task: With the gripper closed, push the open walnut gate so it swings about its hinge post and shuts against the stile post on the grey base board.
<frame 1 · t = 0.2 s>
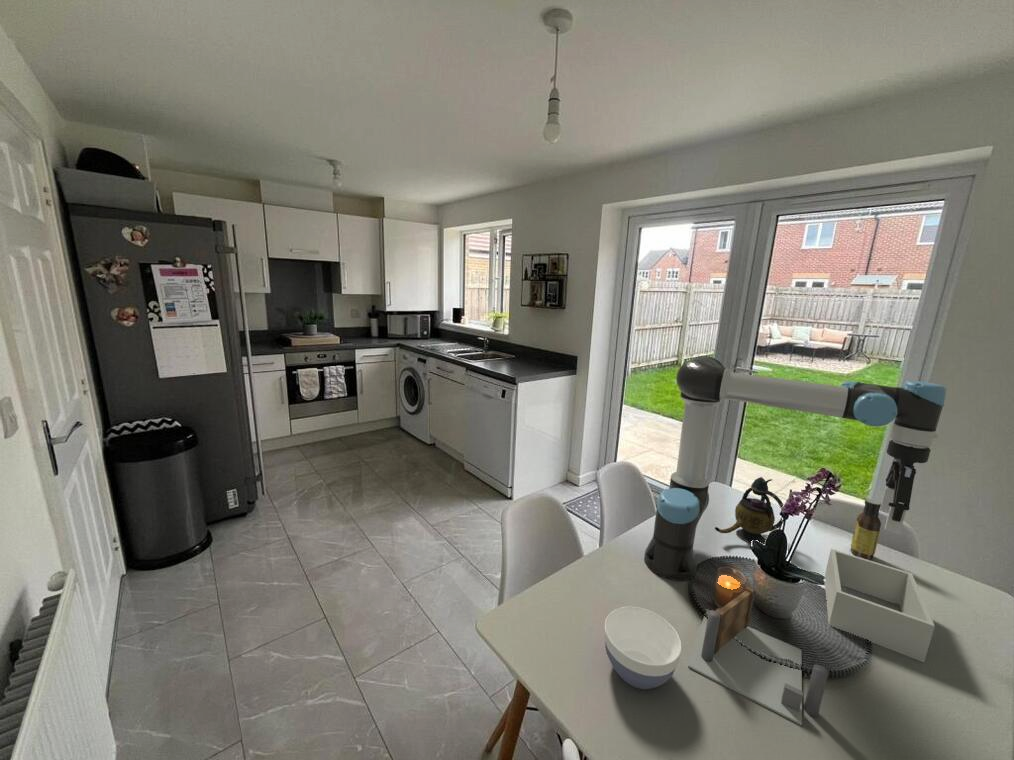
hand: (889, 520, 106), 28 cm above the table, fingers open, 13 cm apart
bowl: (637, 671, 91), on the table
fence: (706, 659, 95), on the table
teapot: (742, 539, 146), on the table
sauce bottle: (860, 555, 140), on the table
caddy: (867, 614, 112), on the table
gate: (732, 618, 99), point 6 cm above the table, hinge at 70.0°
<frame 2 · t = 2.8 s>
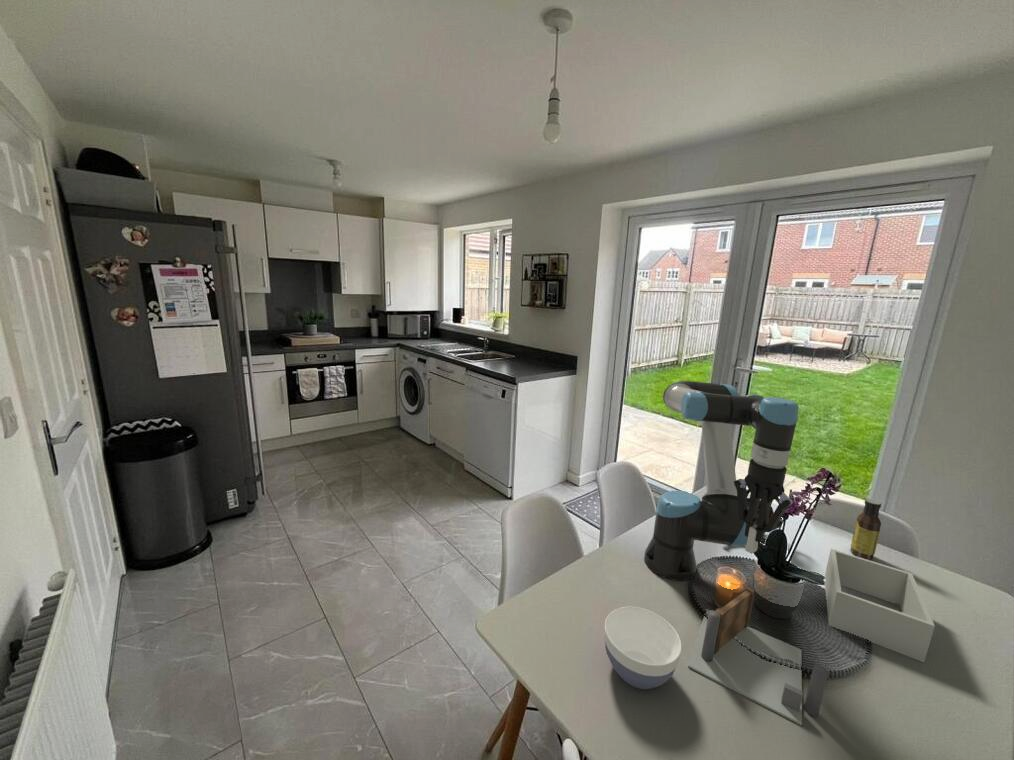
hand: (751, 550, 102), 21 cm above the table, fingers closed
nothing on the table moved.
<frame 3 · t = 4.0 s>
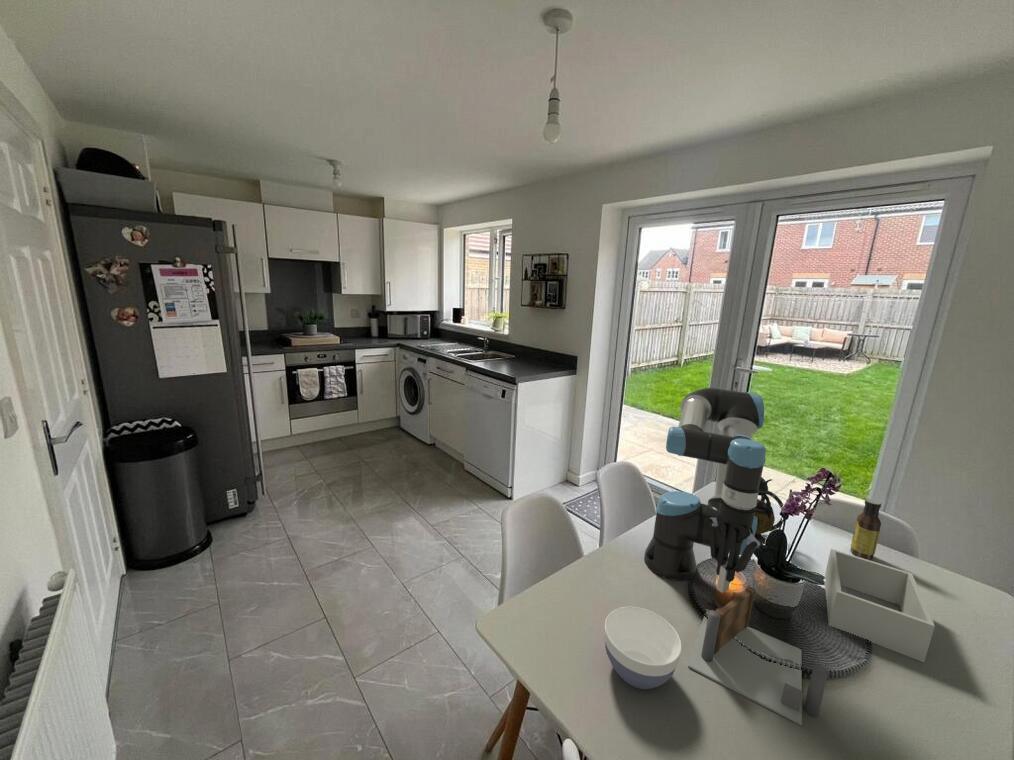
hand: (722, 589, 104), 10 cm above the table, fingers closed
nothing on the table moved.
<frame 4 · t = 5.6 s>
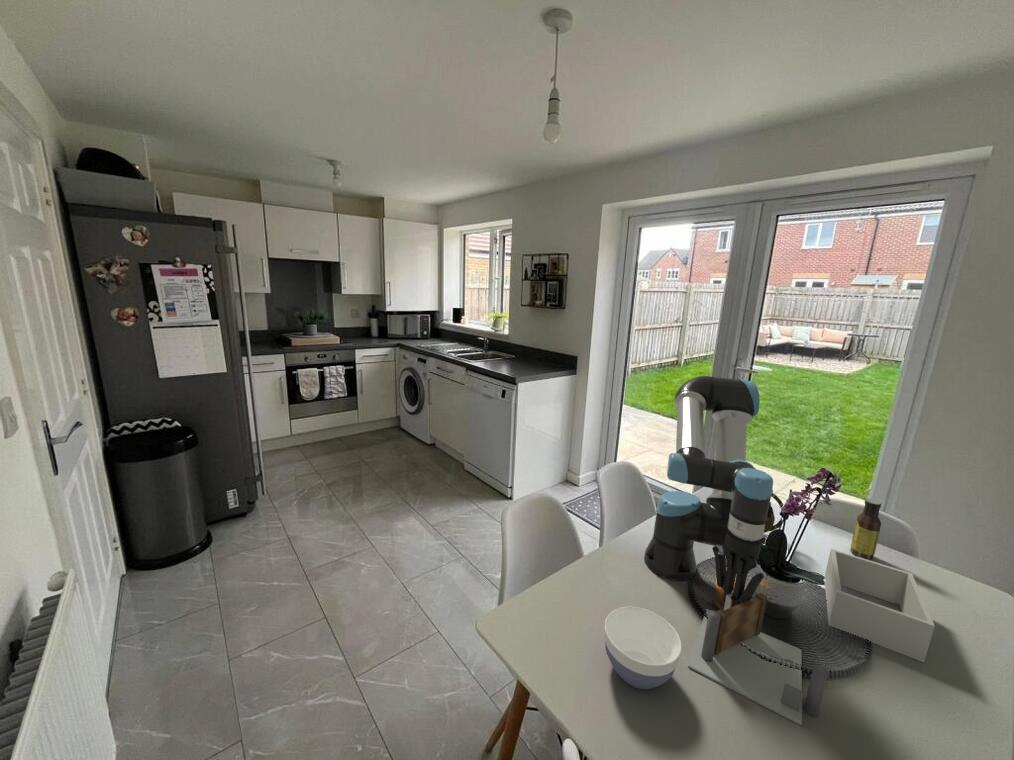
hand: (728, 617, 103), 3 cm above the table, fingers closed
gate: (739, 623, 97), point 6 cm above the table, hinge at 60.6°, touching hand
everything else where it was.
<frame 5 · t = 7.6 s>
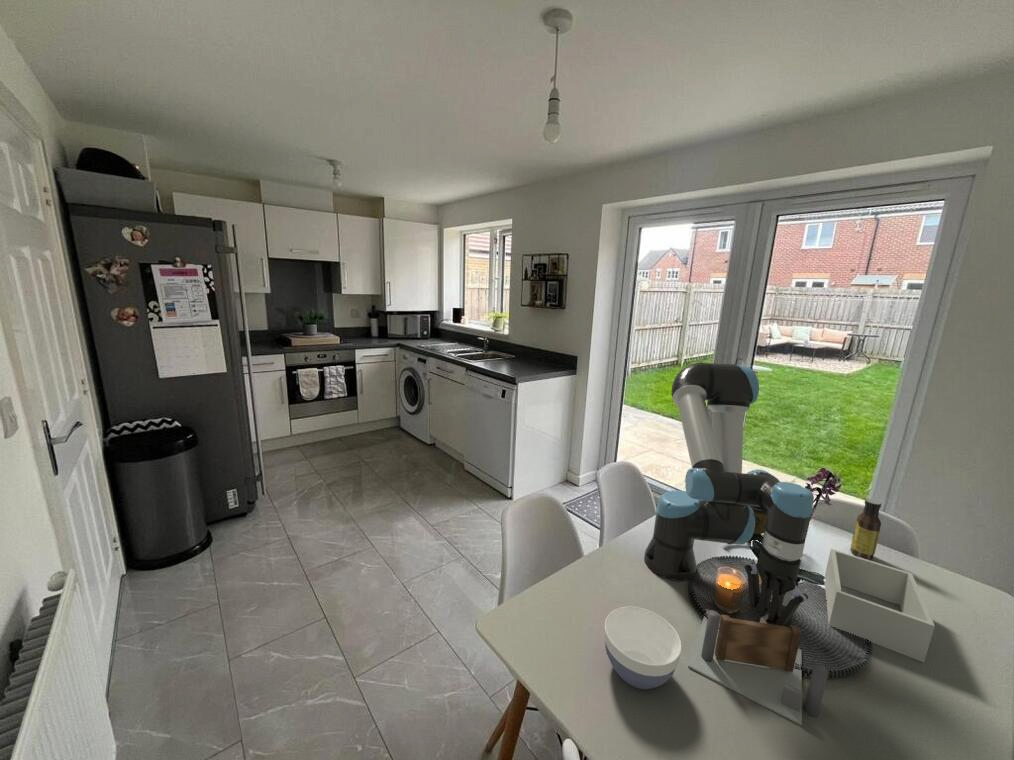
hand: (762, 641, 96), 3 cm above the table, fingers closed
gate: (756, 642, 92), point 6 cm above the table, hinge at 26.6°, touching hand
everything else where it was.
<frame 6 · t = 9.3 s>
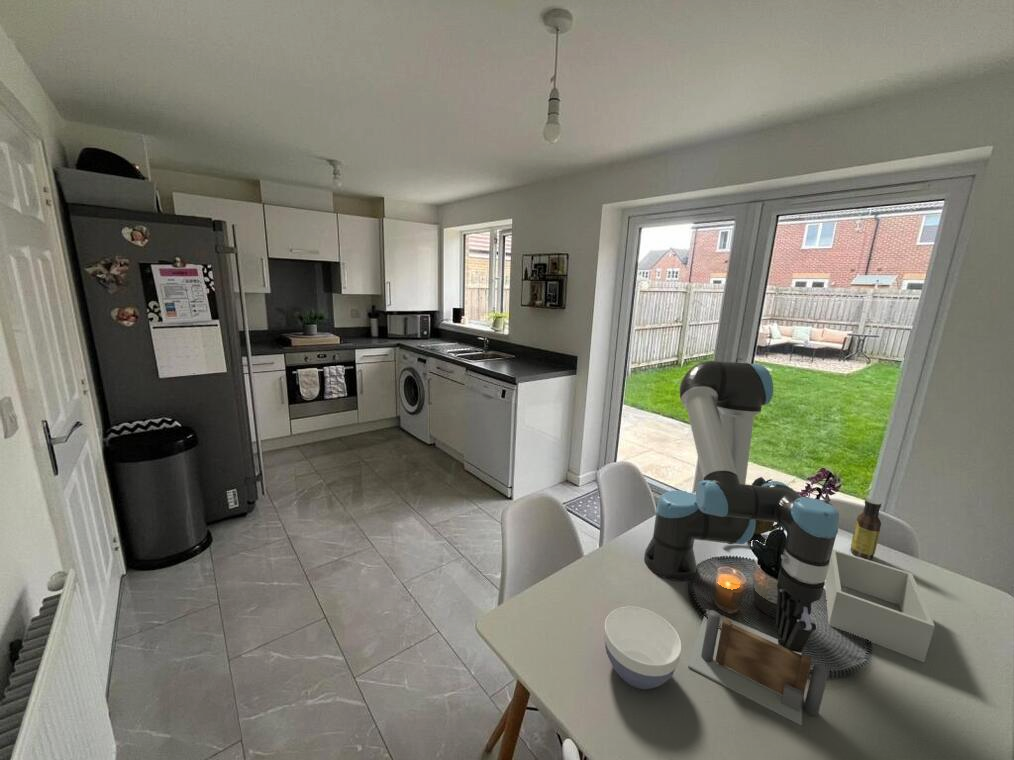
hand: (781, 667, 89), 4 cm above the table, fingers closed
gate: (760, 659, 88), point 6 cm above the table, hinge at -1.7°, touching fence, hand
everything else where it was.
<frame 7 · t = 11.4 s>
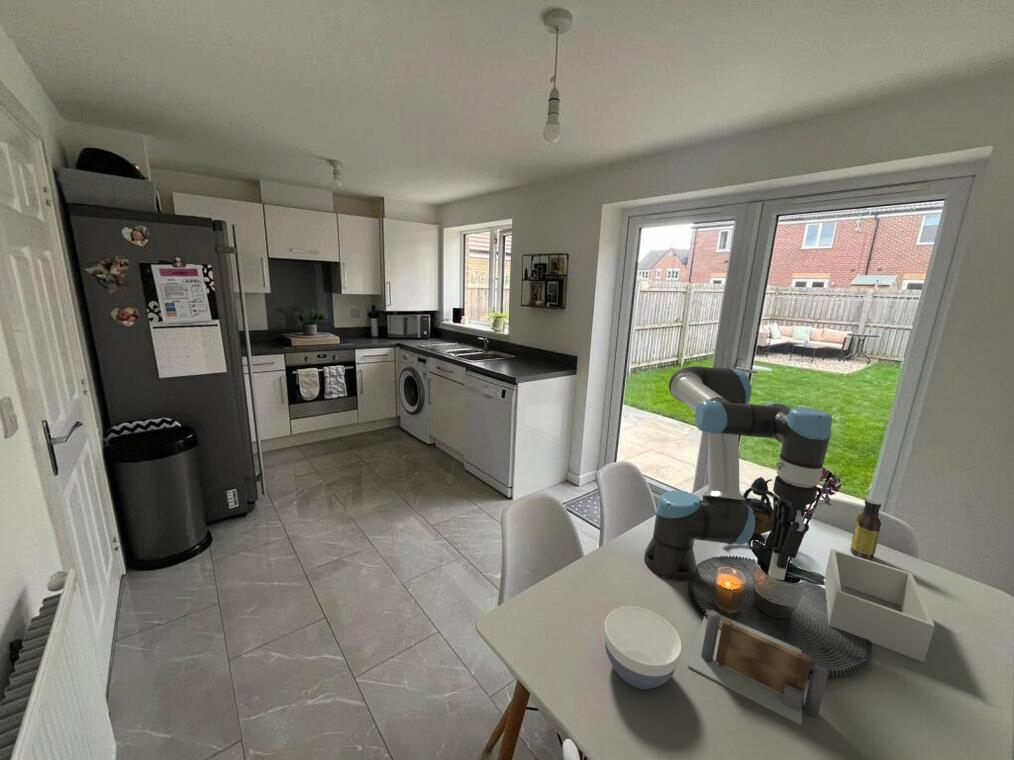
hand: (775, 576, 92), 21 cm above the table, fingers closed
gate: (760, 659, 88), point 6 cm above the table, hinge at -0.8°
everything else where it was.
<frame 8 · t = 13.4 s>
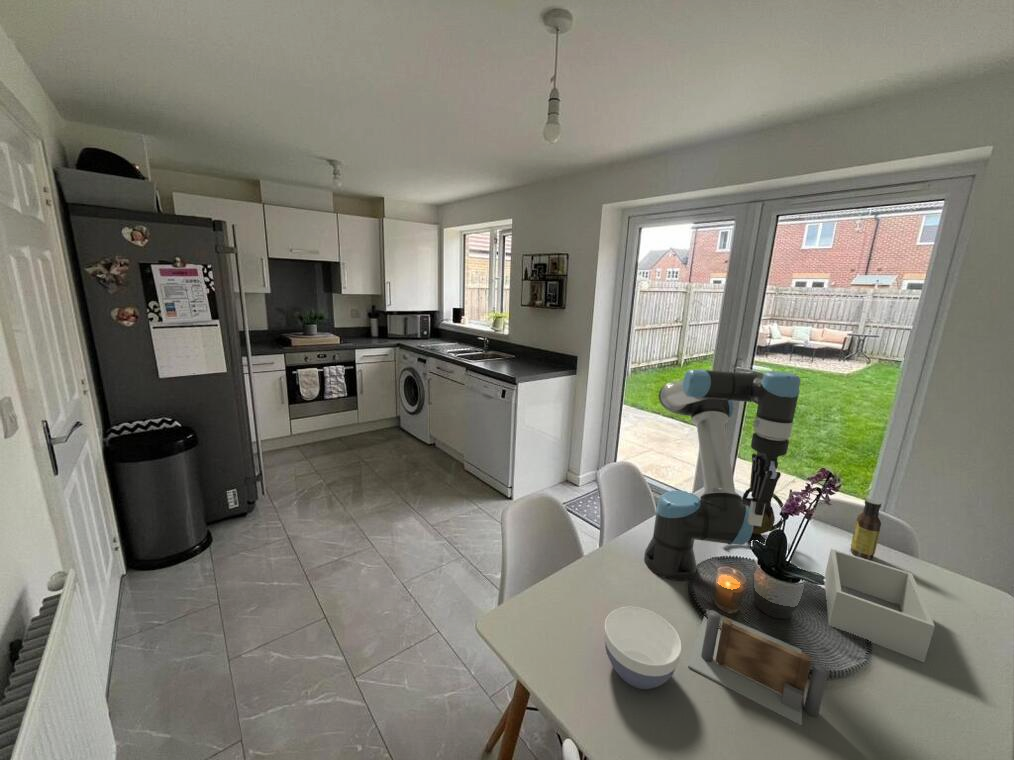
hand: (754, 523, 104), 26 cm above the table, fingers closed
nothing on the table moved.
at the end: gate at -1° (first picture: +70°) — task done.
